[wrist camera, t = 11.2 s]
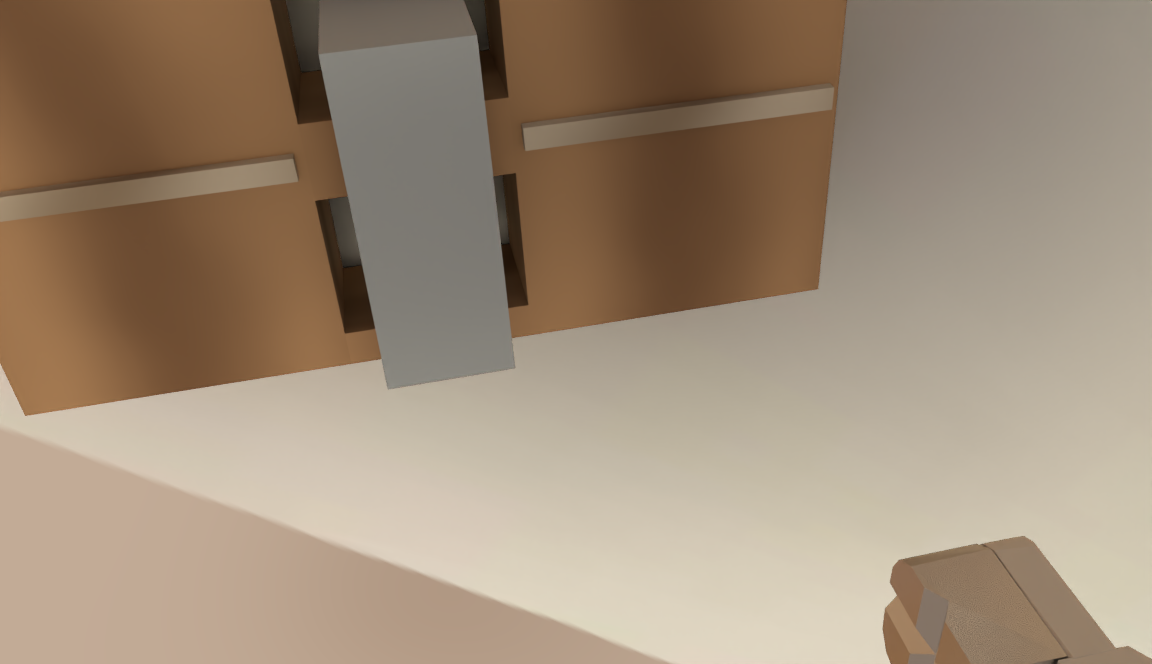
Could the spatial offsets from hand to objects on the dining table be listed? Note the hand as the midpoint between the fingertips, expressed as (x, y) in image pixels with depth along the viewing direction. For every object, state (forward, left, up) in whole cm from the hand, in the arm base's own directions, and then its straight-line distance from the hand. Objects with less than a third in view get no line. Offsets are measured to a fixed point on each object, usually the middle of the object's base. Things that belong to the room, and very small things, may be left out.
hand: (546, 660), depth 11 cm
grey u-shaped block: (+1, +1, -20) cm, 20 cm away
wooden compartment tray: (+1, +1, -20) cm, 20 cm away
